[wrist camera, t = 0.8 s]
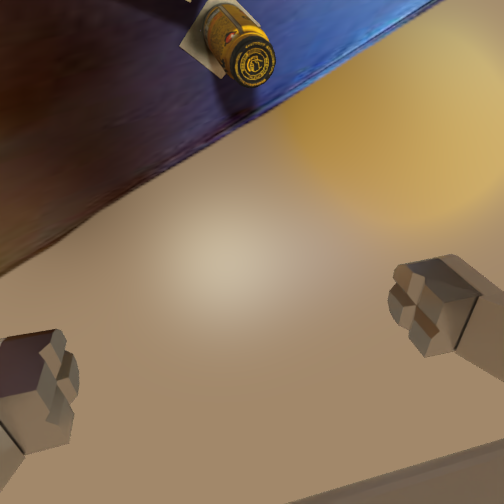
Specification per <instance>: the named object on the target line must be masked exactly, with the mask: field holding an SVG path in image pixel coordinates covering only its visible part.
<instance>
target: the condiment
mask: <svg viewBox="0 0 504 504" xmlns="http://www.w3.org/2000/svg"><path fill="white" fill-rule="evenodd" d="M260 26H261V25H260V24H259V23H258V22H257V21H256V20H255V19H254V18H253V17H252V16H251V15H250V14H249V13H248V12H247V11H246V10H245V9H244V8H243V7H242V6H241V5H240V4H239V3H238V2H237V1H236V0H208V1H207V2H206V4H205V6H204V7H203V9H202V10H201V12H200V14H199V15H198V17H197V18H196V20H195V22H194V23H193V25H192V26H191V28H190V29H189V31H188V32H187V34H186V36H185V38H184V39H183V41H182V42H181V44H180V45H179V46H180V47H181V48H182V49H184V50H185V51H186V52H188V53H189V54H190V55H191V56H193V57H194V58H195V59H197V60H198V61H199V62H200V63H202V64H203V65H205V67H207V68H208V69H209V70H210V71H212V72H213V73H214V74H215V75H217V76H218V77H219V78H220V79H222V78H223V77H224V75H225V74H227V75H228V76H229V77H231V78H232V79H234V80H235V81H237V82H238V83H239V84H240V85H242V86H244V87H247V88H255V87H258V86H260V85H262V84H264V83H265V82H266V81H267V80H268V79H269V78H270V76H271V75H272V73H273V71H274V67H275V64H276V57H275V52H274V50H273V46H272V45H271V44H270V43H269V40H268V38H267V36H266V34H265V33H264V32H263V30H261V29H260ZM200 30H201V31H200Z"/></svg>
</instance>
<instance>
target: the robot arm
mask: <svg viewBox="0 0 504 504" xmlns="http://www.w3.org/2000/svg"><path fill="white" fill-rule="evenodd" d="M393 279H394V280H395V282H396V284H395V285H394V286H393V287H392V289H391V290H390V291H389V296H388V305H389V311H390V313H391V315H392V317H393V319H394V320H395V321H396V323H397V324H398V325H399V326H401V327H403V328H406V329H407V330H409V339H410V340H411V341H412V343H413V344H414V345H415V346H416V348H417V349H418V350H419V351H420V353H421V354H422V355H423V356H424V357H430V356H435V355H440V354H444V353H449V352H453V351H456V352H455V353H456V354H458V355H460V356H461V357H463V358H464V359H466V360H468V361H469V362H471V363H473V364H474V365H476V366H478V367H479V368H481V369H483V370H484V371H486V372H488V373H489V374H491V375H493V376H494V377H496V378H498V379H499V380H501V381H503V382H504V292H503V291H502V290H501V289H499V288H498V287H497V286H495V285H494V284H493V283H492V282H490V281H489V280H488V279H487V278H485V277H484V276H483V275H481V274H480V273H479V272H478V271H476V270H475V269H474V268H473V267H471V266H470V265H469V264H467V263H466V262H465V261H464V260H462V259H461V258H460V257H458V256H456V255H453V254H449V255H444V256H439V257H434V258H432V259H426V260H421V261H416V262H410V263H405V264H400V265H398V266H397V267H396V269H395V270H394V275H393ZM66 342H67V341H66V338H65V336H64V335H63V333H62V331H61V330H59V329H53V330H47V331H41V332H35V333H29V334H23V335H16V336H10V337H7V338H1V339H0V492H1V491H2V489H3V488H4V487H5V485H6V484H7V482H8V481H9V480H10V478H11V477H12V475H13V474H14V472H15V471H16V470H17V468H18V467H19V466H20V464H21V463H22V462H23V460H24V459H25V456H24V455H28V454H32V453H35V452H39V451H43V450H46V449H50V448H54V447H58V446H61V445H65V444H69V441H70V436H71V430H72V424H73V419H74V412H73V411H72V409H71V407H70V404H71V403H72V402H73V401H74V399H75V398H76V397H77V396H78V390H79V370H78V366H77V362H76V359H75V357H74V355H73V354H72V353H70V352H68V351H65V346H66ZM286 504H504V439H500V440H497V441H494V442H491V443H487V444H484V445H480V446H477V447H473V448H470V449H467V450H464V451H460V452H457V453H453V454H450V455H447V456H443V457H440V458H437V459H433V460H430V461H427V462H423V463H420V464H417V465H413V466H410V467H407V468H403V469H400V470H396V471H393V472H390V473H386V474H383V475H380V476H377V477H373V478H370V479H366V480H363V481H360V482H356V483H353V484H350V485H346V486H343V487H340V488H336V489H333V490H330V491H326V492H323V493H320V494H316V495H313V496H309V497H306V498H303V499H299V500H296V501H293V502H289V503H286Z"/></svg>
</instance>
